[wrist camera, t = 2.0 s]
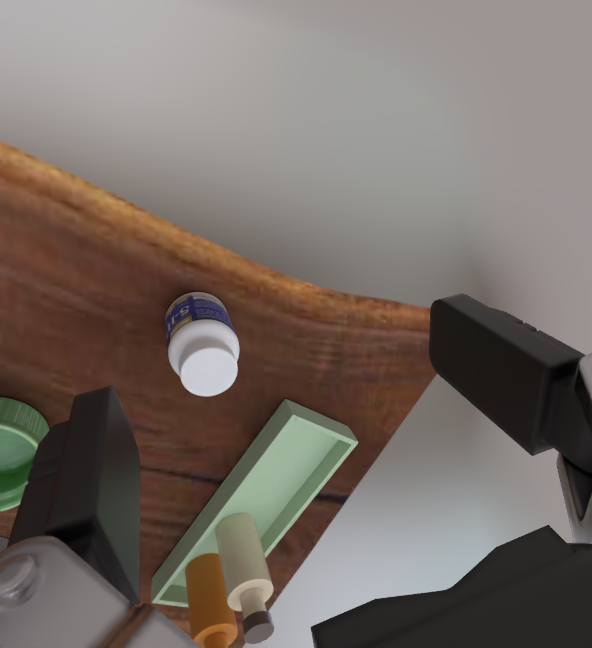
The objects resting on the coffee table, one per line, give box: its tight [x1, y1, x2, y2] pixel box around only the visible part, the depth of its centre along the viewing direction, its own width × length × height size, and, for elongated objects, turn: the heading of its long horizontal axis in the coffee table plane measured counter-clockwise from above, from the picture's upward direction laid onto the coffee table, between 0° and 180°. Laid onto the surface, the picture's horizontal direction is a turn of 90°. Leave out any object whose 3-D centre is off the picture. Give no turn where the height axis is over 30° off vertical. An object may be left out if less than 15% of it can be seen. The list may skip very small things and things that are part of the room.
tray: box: [151, 399, 358, 607], centre depth 48 cm, size 9×27×3 cm, turn 143°
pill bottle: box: [165, 292, 239, 396], centre depth 33 cm, size 5×5×9 cm
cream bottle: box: [215, 513, 274, 644], centre depth 44 cm, size 5×5×12 cm
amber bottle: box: [185, 553, 238, 648], centre depth 45 cm, size 5×5×12 cm
